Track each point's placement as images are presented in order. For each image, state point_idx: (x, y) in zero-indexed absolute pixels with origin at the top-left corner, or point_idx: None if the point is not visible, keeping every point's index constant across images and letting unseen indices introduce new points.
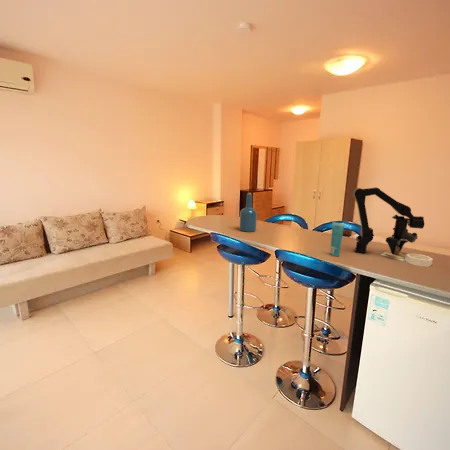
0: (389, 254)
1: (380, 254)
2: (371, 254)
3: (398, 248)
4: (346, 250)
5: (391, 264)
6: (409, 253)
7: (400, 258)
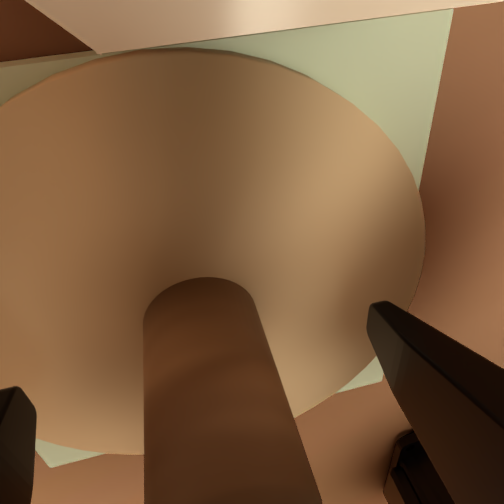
0: (327, 342)
1: (369, 383)
2: None
3: (277, 450)
4: None
5: None
6: (147, 15)
7: (368, 121)
